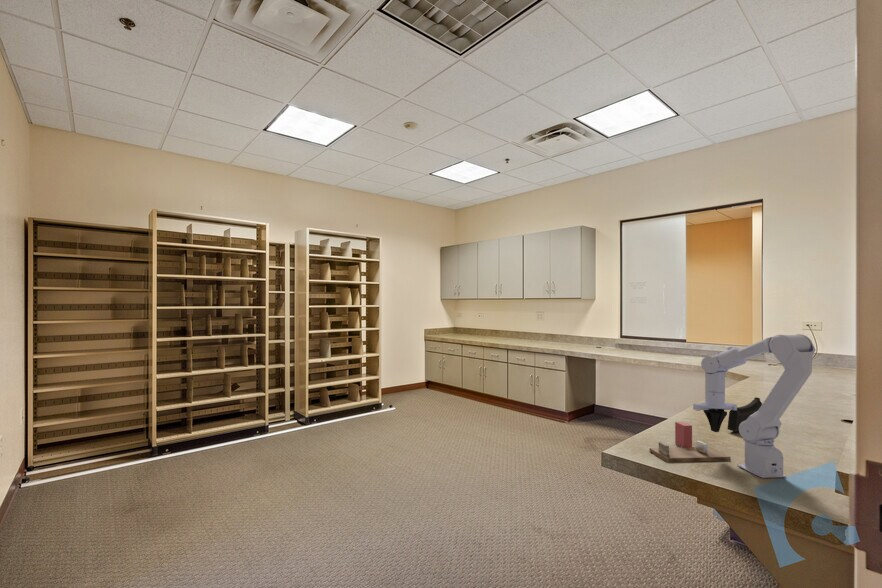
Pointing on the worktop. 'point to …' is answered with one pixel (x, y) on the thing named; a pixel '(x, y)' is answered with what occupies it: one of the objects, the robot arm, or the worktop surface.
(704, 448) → the sliding bookend
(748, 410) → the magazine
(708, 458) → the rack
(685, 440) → the book
